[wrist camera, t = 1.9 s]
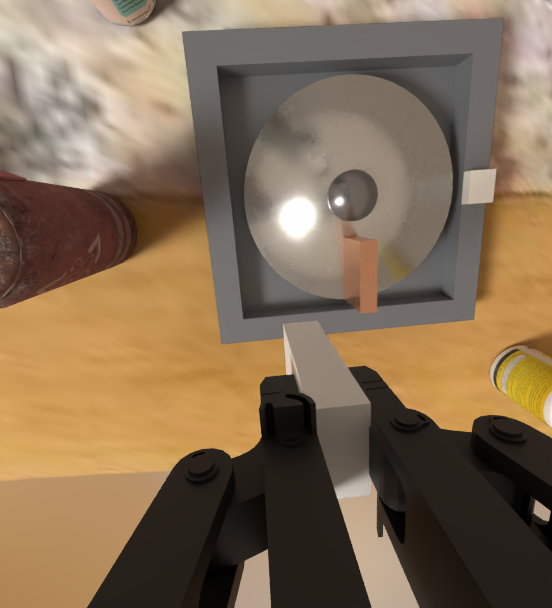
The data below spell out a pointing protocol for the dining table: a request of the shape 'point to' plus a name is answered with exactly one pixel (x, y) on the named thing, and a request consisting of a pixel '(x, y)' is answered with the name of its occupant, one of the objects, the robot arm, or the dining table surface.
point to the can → (57, 236)
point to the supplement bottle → (525, 379)
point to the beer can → (124, 10)
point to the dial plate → (289, 80)
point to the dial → (348, 187)
